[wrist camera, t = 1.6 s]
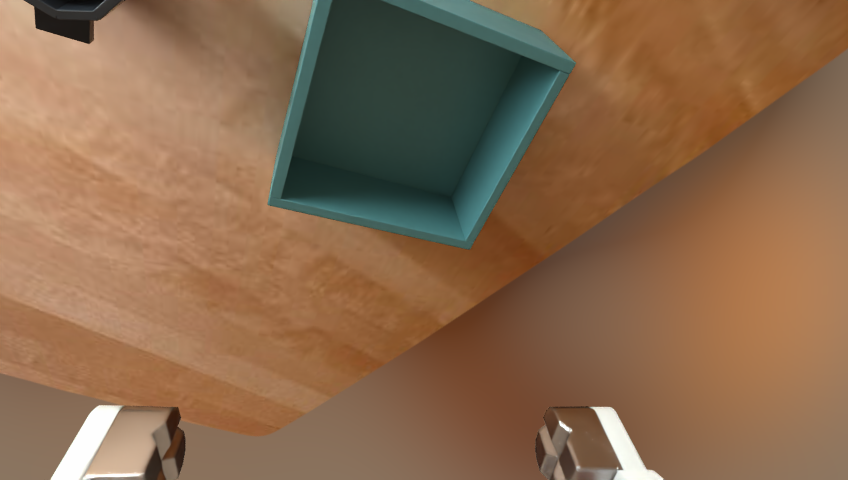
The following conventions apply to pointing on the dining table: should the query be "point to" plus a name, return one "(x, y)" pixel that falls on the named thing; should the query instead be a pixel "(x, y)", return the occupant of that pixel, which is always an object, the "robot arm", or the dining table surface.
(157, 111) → the dining table surface
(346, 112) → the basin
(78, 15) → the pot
